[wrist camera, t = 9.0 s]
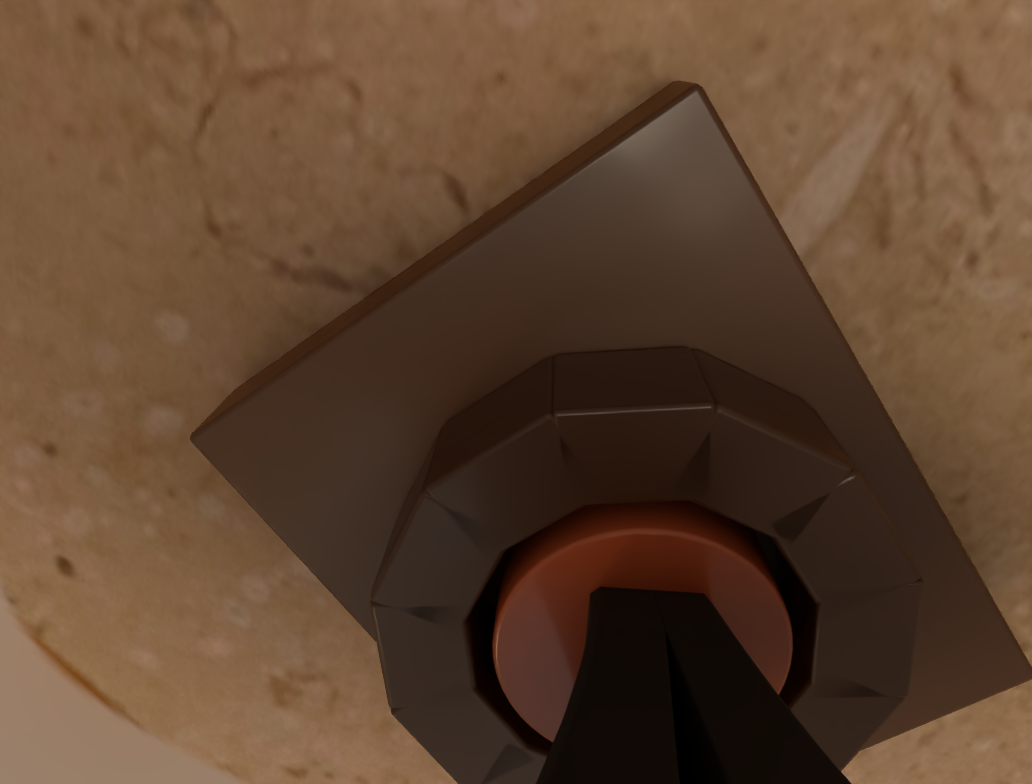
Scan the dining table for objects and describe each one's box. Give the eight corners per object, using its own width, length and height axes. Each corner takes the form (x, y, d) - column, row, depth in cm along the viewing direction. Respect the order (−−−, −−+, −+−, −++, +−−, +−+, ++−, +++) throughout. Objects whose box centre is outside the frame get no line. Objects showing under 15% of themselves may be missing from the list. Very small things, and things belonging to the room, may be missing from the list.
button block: (232, 390, 12) (116, 508, 9) (678, 77, 10) (732, 86, 7) (580, 786, 15) (585, 980, 12) (982, 605, 13) (1119, 782, 10)
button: (450, 538, 11) (432, 621, 9) (675, 408, 10) (697, 475, 8) (591, 705, 12) (595, 804, 10) (806, 602, 11) (847, 694, 9)
